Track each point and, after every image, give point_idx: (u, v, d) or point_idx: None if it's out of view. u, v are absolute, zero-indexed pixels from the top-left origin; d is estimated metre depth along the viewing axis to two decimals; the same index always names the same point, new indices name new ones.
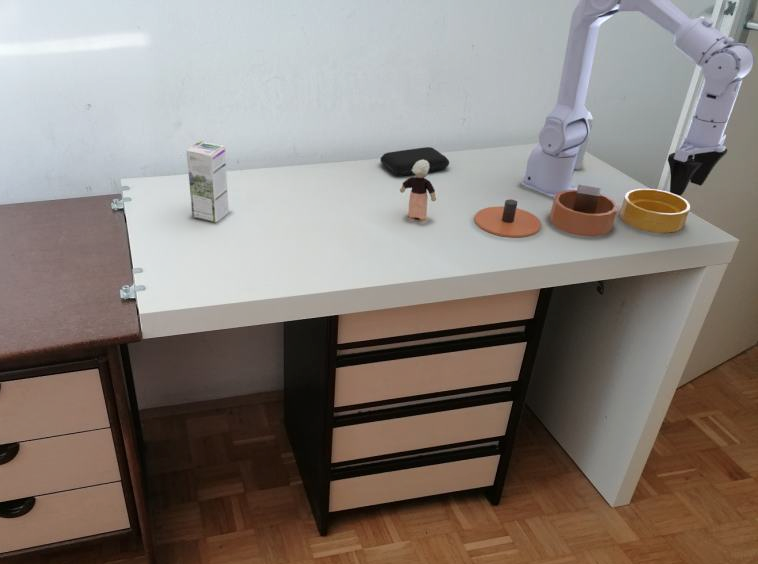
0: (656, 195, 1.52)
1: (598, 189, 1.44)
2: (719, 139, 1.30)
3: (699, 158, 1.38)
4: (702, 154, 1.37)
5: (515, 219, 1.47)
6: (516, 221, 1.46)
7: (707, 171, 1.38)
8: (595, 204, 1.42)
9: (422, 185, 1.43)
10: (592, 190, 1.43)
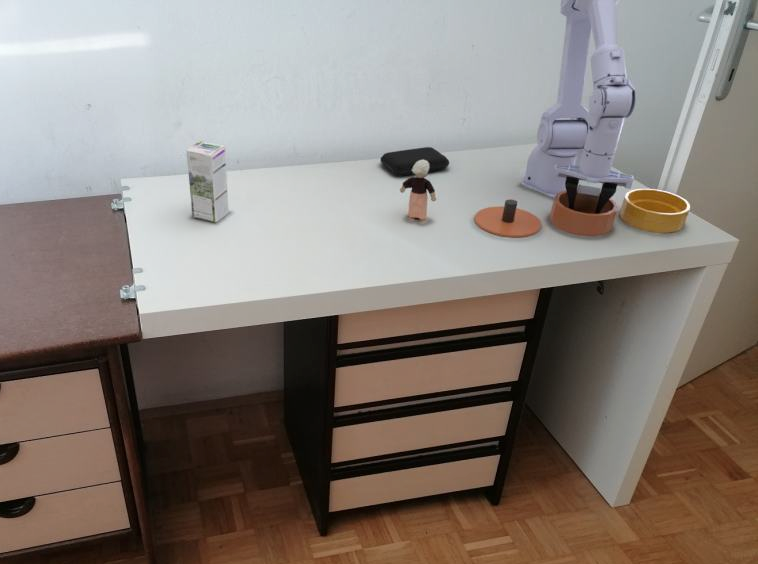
0: (656, 195, 1.52)
1: (598, 189, 1.44)
2: (593, 170, 1.38)
3: (600, 193, 1.44)
4: (601, 189, 1.43)
5: (515, 219, 1.47)
6: (516, 221, 1.46)
7: (597, 206, 1.43)
8: (595, 204, 1.42)
9: (422, 185, 1.43)
10: (592, 190, 1.43)
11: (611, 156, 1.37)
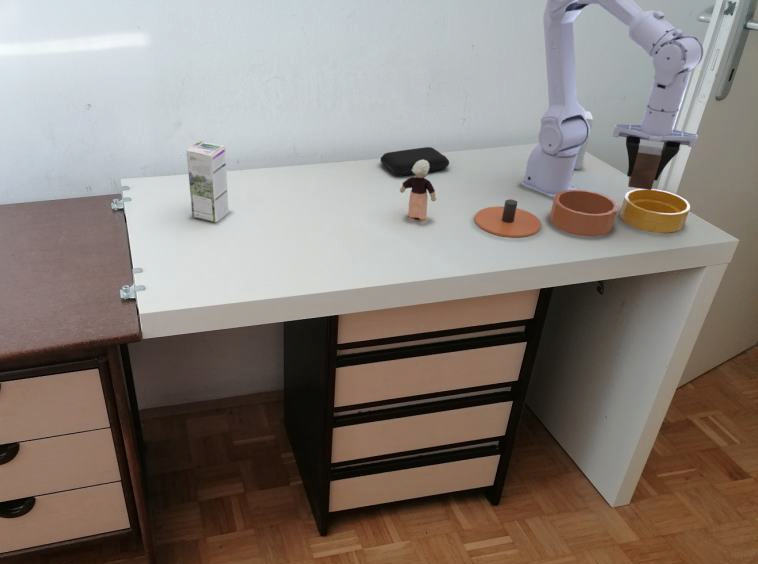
0: (656, 195, 1.52)
1: (659, 149, 1.40)
2: (656, 128, 1.35)
3: None
4: (663, 149, 1.40)
5: (515, 219, 1.47)
6: (516, 221, 1.46)
7: None
8: (657, 164, 1.39)
9: (422, 185, 1.43)
10: (654, 150, 1.40)
11: (676, 113, 1.33)
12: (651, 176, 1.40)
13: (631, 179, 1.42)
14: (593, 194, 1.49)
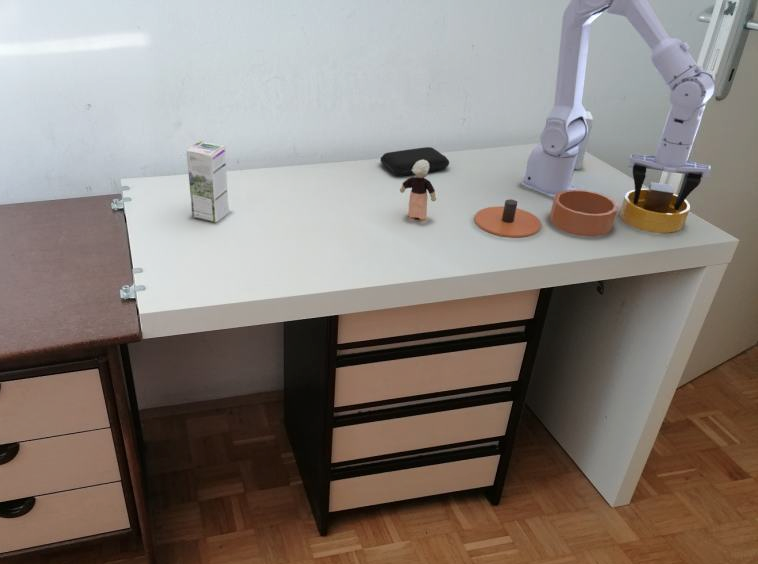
0: None
1: (671, 186, 1.45)
2: (671, 160, 1.39)
3: (682, 184, 1.44)
4: (684, 180, 1.44)
5: (515, 219, 1.47)
6: (516, 221, 1.46)
7: (680, 197, 1.44)
8: (668, 201, 1.44)
9: (422, 185, 1.43)
10: (665, 187, 1.45)
11: (689, 146, 1.38)
12: (663, 212, 1.46)
13: None
14: (593, 194, 1.49)
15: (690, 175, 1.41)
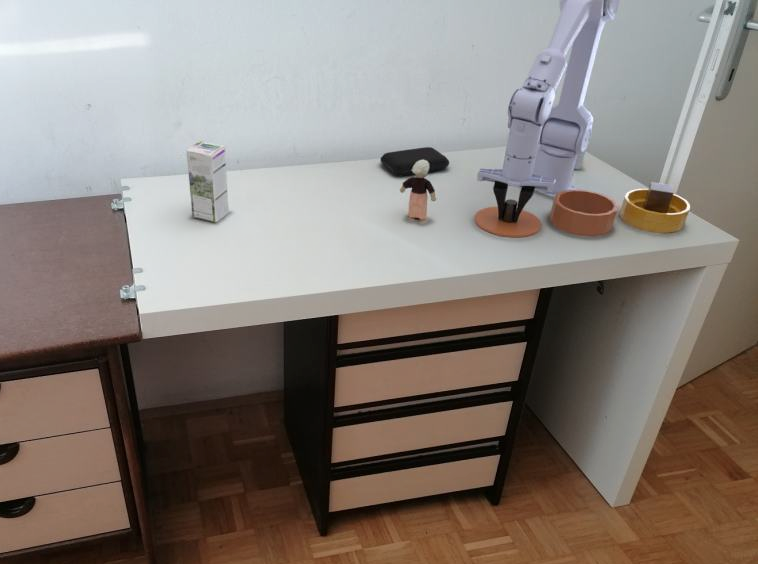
0: None
1: (671, 186, 1.45)
2: (514, 174, 1.38)
3: None
4: None
5: None
6: None
7: None
8: (668, 201, 1.44)
9: (422, 185, 1.43)
10: (665, 187, 1.45)
11: (531, 160, 1.37)
12: (663, 212, 1.46)
13: None
14: (593, 194, 1.49)
15: (524, 187, 1.41)
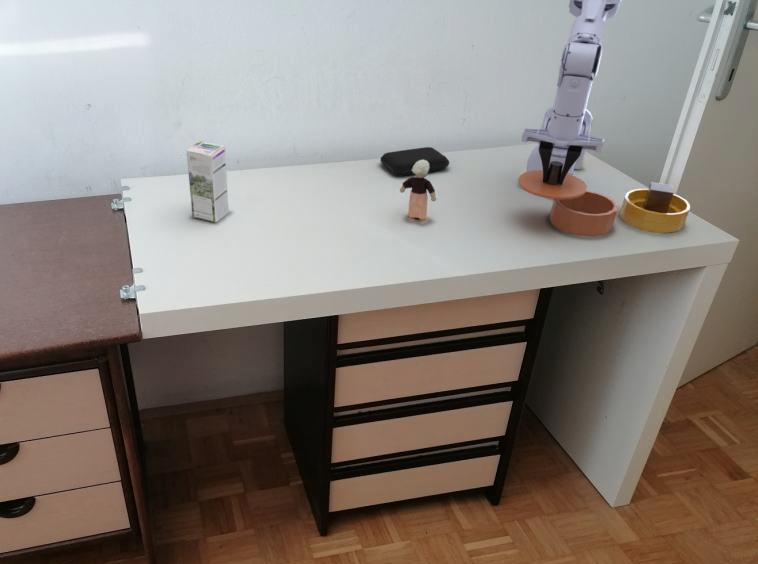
0: None
1: (671, 186, 1.45)
2: (562, 133, 1.34)
3: None
4: None
5: None
6: None
7: (562, 170, 1.39)
8: (668, 201, 1.44)
9: (422, 185, 1.43)
10: (665, 187, 1.45)
11: (580, 118, 1.32)
12: (663, 212, 1.46)
13: None
14: (593, 194, 1.49)
15: (571, 147, 1.37)
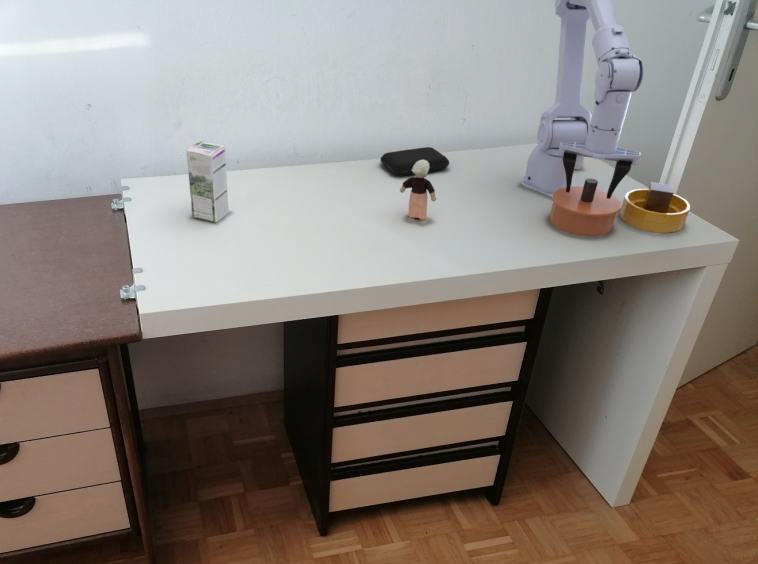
0: None
1: (671, 186, 1.45)
2: (599, 146, 1.36)
3: (614, 171, 1.41)
4: (615, 167, 1.40)
5: (594, 199, 1.45)
6: (595, 201, 1.44)
7: (611, 184, 1.40)
8: (668, 201, 1.44)
9: (422, 185, 1.43)
10: (665, 187, 1.45)
11: (618, 131, 1.34)
12: (663, 212, 1.46)
13: None
14: None
15: (620, 162, 1.38)
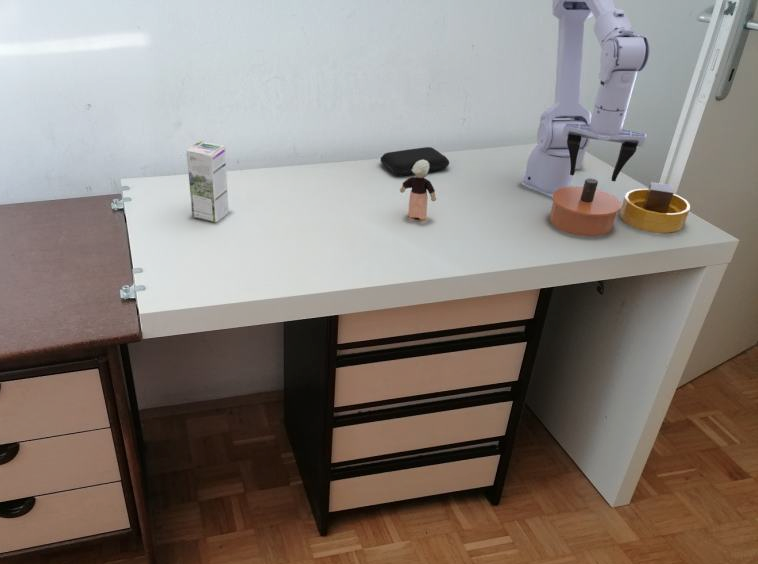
0: None
1: (671, 186, 1.45)
2: (604, 128, 1.34)
3: (619, 153, 1.39)
4: (620, 149, 1.38)
5: (594, 199, 1.45)
6: (595, 201, 1.44)
7: (616, 167, 1.38)
8: (668, 201, 1.44)
9: (422, 185, 1.43)
10: (665, 187, 1.45)
11: (623, 112, 1.32)
12: (663, 212, 1.46)
13: None
14: None
15: (626, 144, 1.36)
